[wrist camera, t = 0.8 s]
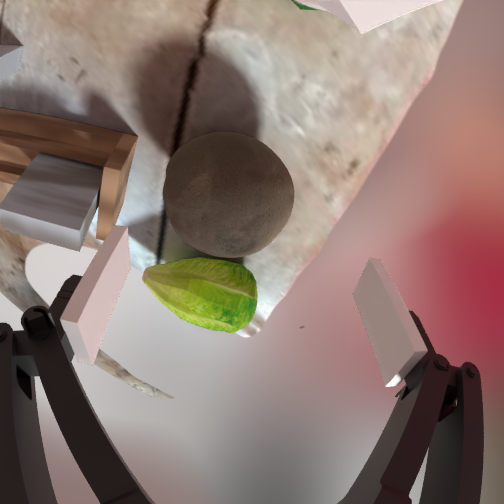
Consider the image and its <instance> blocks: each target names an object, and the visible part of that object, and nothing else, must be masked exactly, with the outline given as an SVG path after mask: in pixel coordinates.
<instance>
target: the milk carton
mask: <svg viewBox="0 0 504 504" xmlns="http://www.w3.org/2000/svg"><path fill="white" fill-rule="evenodd" d="M292 1H293V2H294V3H295V4H296V5H297V6H298V7H299V8H300V9H306V10H323V11H328V12H331V13H332V14H334V15H335V16H337V17H338V18H340V19H341V20H343V21H344V22H346V23H347V24H349V25H350V26H351V27H353V28H354V29H356V30H357V31H358V32H360V33H361V34H363V33H365V32H367V31H369V30H371V29H373V28H375V27H378V26H380V25H382V24H384V23H386V22H389V21H391V20H393V19H395V18H398V17H400V16H402V15H405V14H407V13H410V12H412V11H415V10H417V9H420V8H422V7H425V6H428V5H431V4H433V3H436V2H439V1H442V0H292Z"/></svg>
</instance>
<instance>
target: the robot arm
mask: <svg viewBox="0 0 504 504" xmlns="http://www.w3.org/2000/svg"><path fill="white" fill-rule="evenodd" d="M130 269H131V267H130V255H129V240H128V227H126V226H117V225H114V226H113V228H112V229H111V231H110V233H109V234H108V236H107V237H106V239H105V240H104V242H103V244H102V245H101V247H100V248H99V250H98V252H97V253H96V255H95V257H94V258H93V260H92V262H91V263H90V265H89V267H88V268H87V270H86V272H85V273H84V275H83V276H78V275H72V276H71V277H70V278H68V279H67V280H66V281H65V282H64V284H63V286H62V287H61V289H60V291H59V292H58V294H57V297H56V298H55V299H54V301H53V303H52V304H51V306H50V308H49V310H48V309H47V308H46V307H44V306H33V307H31V308H29V309H27V310H26V311H25V312H24V313H23V315H22V318H21V325H22V327H23V329H24V330H22V331H13V329H12V328H11V326H10V325H9V324H7V323H0V504H57V500H56V497H55V494H54V490H53V487H52V483H51V479H50V475H49V471H48V467H47V463H46V458H45V453H44V448H43V443H42V437H41V432H40V425H39V418H38V411H37V403H36V394H35V393H36V392H35V380H34V376H40V379H41V382H42V385H43V387H44V390H45V393H46V396H47V398H48V401H49V404H50V406H51V409H52V411H53V413H54V416H55V418H56V421H57V423H58V425H59V427H60V430H61V432H62V434H63V436H64V438H65V440H66V442H67V445H68V447H69V449H70V451H71V453H72V454H73V456H74V458H75V460H76V462H77V464H78V466H79V468H80V469H81V471H82V473H83V475H84V476H85V478H86V480H87V482H88V483H89V485H90V487H91V488H92V490H93V492H94V493H95V495H96V496H97V498H98V500H99V502H100V504H155V503H154V502H153V501H152V499H151V498H150V497H149V496H148V494H147V493H146V492H145V490H144V489H143V487H142V486H141V485H140V483H139V482H138V481H137V479H136V478H135V476H134V475H133V473H132V472H131V471H130V469H129V468H128V466H127V465H126V463H125V462H124V460H123V459H122V457H121V456H120V454H119V452H118V451H117V449H116V448H115V446H114V444H113V443H112V441H111V439H110V438H109V436H108V434H107V433H106V431H105V429H104V427H103V426H102V424H101V422H100V420H99V419H98V416H97V415H96V413H95V411H94V409H93V407H92V405H91V403H90V401H89V399H88V397H87V396H86V393H85V391H84V389H83V387H82V385H81V383H80V381H79V378H78V376H77V374H76V372H75V370H74V367H73V365H72V363H71V361H72V359H73V356H74V355H75V358H76V360H77V362H80V363H84V364H88V365H92V366H93V364H94V361H95V358H96V356H97V353H98V350H99V347H100V344H101V341H102V339H103V336H104V333H105V331H106V328H107V325H108V323H109V320H110V318H111V315H112V312H113V310H114V307H115V305H116V302H117V300H118V297H119V295H120V292H121V290H122V288H123V285H124V283H125V280H126V278H127V276H128V274H129V271H130ZM353 297H354V299H355V302H356V305H357V307H358V310H359V312H360V315H361V318H362V320H363V323H364V326H365V329H366V331H367V334H368V337H369V340H370V343H371V345H372V348H373V351H374V354H375V357H376V360H377V363H378V366H379V369H380V372H381V375H382V378H383V381H384V384H385V386H386V387H388V386H397V385H398V384H400V383H401V382H402V380H403V379H405V382H406V385H405V386H404V387H403V388H402V389H401V390H400V391H399V392H398V393H397V394H396V396H395V397H398V395H400V396H399V398H398V401H397V403H396V405H395V407H394V409H393V412H392V414H391V416H390V418H389V420H388V422H387V424H386V426H385V428H384V430H383V433H382V434H381V436H380V438H379V440H378V442H377V444H376V446H375V448H374V450H373V451H372V453H371V455H370V457H369V459H368V461H367V462H366V464H365V465H364V468H363V469H362V471H361V473H360V474H359V476H358V477H357V479H356V481H355V482H354V484H353V485H352V487H351V488H350V490H349V492H348V493H347V495H346V496H345V497H344V498H343V499H342V500H341V501H340V502H339V503H338V504H412V500H411V499H410V498H409V493H410V491H411V488H412V486H413V484H414V482H415V479H416V477H417V475H418V472H419V470H420V468H421V465H422V463H423V460H424V457H425V455H426V452H427V449H428V447H429V450H428V458H427V464H426V471H425V476H424V482H423V487H422V492H421V498H420V502H419V504H479V503H480V494H481V485H482V472H483V451H484V424H483V402H482V390H481V379H480V373H479V370H478V369H477V367H476V366H475V365H474V364H472V363H471V362H465V363H463V365H462V366H461V367H460V368H459V367H455V366H451V365H450V363H449V362H448V360H447V359H446V358H445V357H444V356H442V355H440V354H436V352H435V350H434V348H433V346H432V344H431V342H430V340H429V338H428V336H427V334H426V333H425V330H424V328H423V327H422V324H421V322H420V320H419V318H418V317H417V316H416V315H415V313H414V312H413V311H408V309H407V307H406V305H405V303H404V301H403V299H402V297H401V295H400V294H399V292H398V290H397V288H396V286H395V284H394V282H393V281H392V279H391V277H390V275H389V274H388V272H387V270H386V268H385V266H384V264H383V263H382V261H381V260H380V259H374V258H369V260H368V262H367V265H366V267H365V269H364V271H363V273H362V276H361V278H360V280H359V282H358V284H357V286H356V288H355V290H354V292H353ZM456 401H457V406H456Z"/></svg>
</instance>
